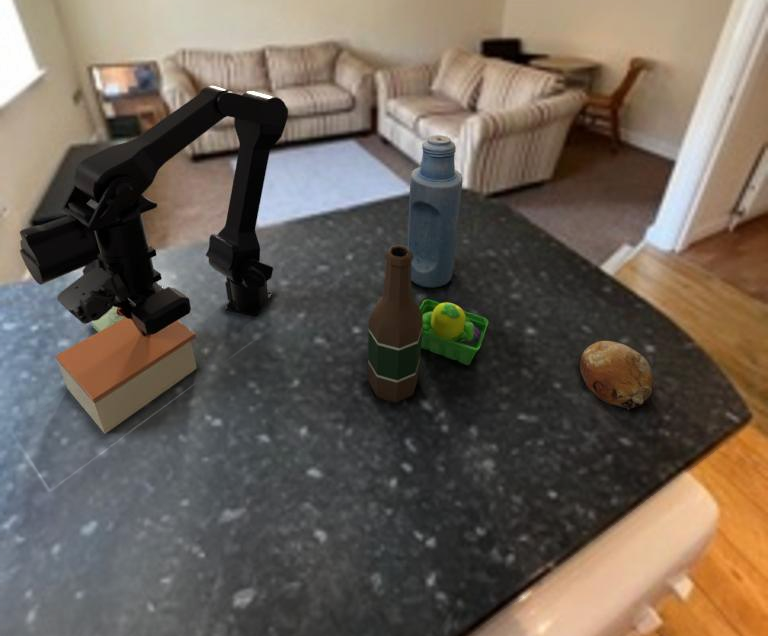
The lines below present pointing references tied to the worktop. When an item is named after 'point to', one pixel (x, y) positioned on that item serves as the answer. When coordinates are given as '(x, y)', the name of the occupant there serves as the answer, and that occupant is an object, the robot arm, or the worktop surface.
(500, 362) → the worktop surface
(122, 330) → the box lid
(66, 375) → the wooden box
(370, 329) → the beer bottle
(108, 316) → the button housing
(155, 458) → the worktop surface
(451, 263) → the bottle
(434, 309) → the fruit basket
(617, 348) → the brown oval lump
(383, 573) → the worktop surface
